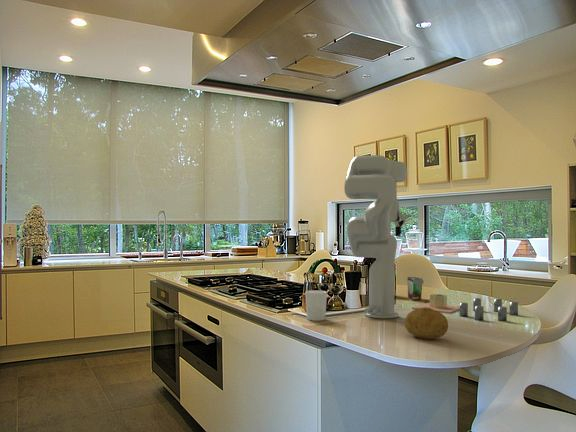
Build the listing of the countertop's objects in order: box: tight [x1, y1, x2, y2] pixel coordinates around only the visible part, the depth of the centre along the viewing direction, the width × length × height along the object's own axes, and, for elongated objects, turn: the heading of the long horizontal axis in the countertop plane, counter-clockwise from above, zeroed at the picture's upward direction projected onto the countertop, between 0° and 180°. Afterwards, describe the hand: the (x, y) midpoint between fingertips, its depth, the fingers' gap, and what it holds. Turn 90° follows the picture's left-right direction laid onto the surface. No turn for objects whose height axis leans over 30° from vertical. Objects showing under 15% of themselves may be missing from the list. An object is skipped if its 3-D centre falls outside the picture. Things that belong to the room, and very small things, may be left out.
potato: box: [404, 307, 449, 340], centre depth 145 cm, size 10×13×9 cm
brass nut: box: [429, 293, 448, 309], centre depth 199 cm, size 7×6×5 cm
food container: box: [406, 276, 425, 302], centre depth 225 cm, size 12×6×10 cm, turn 179°
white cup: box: [305, 289, 328, 322], centre depth 174 cm, size 8×8×10 cm
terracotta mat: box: [411, 302, 460, 314], centre depth 199 cm, size 16×16×1 cm
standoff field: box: [459, 297, 519, 322], centre depth 184 cm, size 27×17×5 cm, turn 141°
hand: (387, 235), depth 203 cm, fingers open, 9 cm apart
